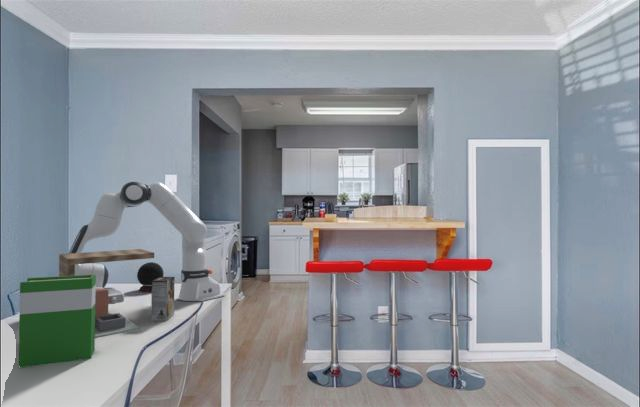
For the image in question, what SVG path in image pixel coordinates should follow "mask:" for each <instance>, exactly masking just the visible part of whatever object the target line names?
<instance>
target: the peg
mask: <svg viewBox="0 0 640 407" xmlns="http://www.w3.org/2000/svg"><path fill="white" fill-rule="evenodd" d="M106 288H107V287H104V288H103V289H96V294H95V317H98V316H104V315H109V304H108V289H106Z"/></svg>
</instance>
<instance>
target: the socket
mask: <svg viewBox="0 0 640 407" xmlns="http://www.w3.org/2000/svg"><path fill="white" fill-rule="evenodd" d="M136 330H140V326H138V325H137V324H135V323H134V322H132V321H131V320H130V319H128V318H127V317H125V316H124V315H123V314H121V313H119V312H118V313H112V314H108V315H104V316H98V317H95V339H97V338H100V337H105V336H110V335H116V334H121V333H126V332H130V331H132V332H133V331H136Z"/></svg>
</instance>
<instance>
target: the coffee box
mask: <svg viewBox="0 0 640 407" xmlns="http://www.w3.org/2000/svg"><path fill="white" fill-rule="evenodd" d="M150 304H151V306H150V307H151V308H150V309H151V310H150V311H151V314H150V315H151V319H150V320H151V322H157V321H162V322H163V321H168V320H169V319H170V318H171V317H173V316H174V315H175V276H163V277H159V278H157V279H155V280H153V281H152V292H151V303H150Z"/></svg>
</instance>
